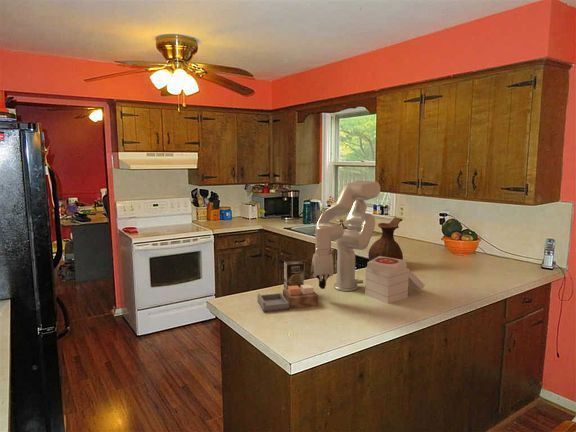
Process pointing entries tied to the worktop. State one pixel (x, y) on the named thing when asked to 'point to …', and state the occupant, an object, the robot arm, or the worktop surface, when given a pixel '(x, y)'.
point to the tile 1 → (294, 290)
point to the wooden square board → (301, 299)
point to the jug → (387, 242)
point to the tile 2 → (307, 289)
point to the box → (272, 302)
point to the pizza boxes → (389, 279)
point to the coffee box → (293, 273)
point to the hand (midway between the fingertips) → (322, 287)
